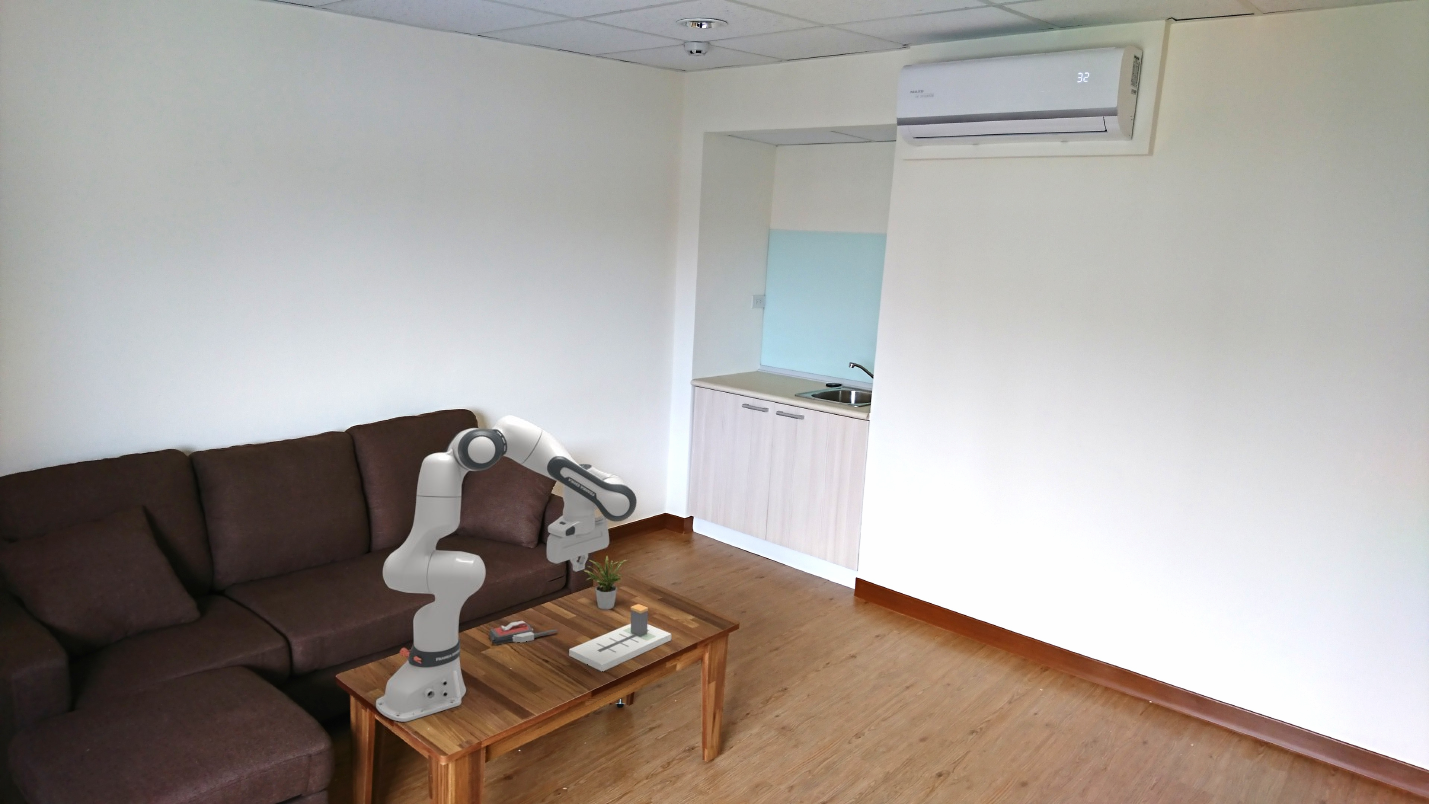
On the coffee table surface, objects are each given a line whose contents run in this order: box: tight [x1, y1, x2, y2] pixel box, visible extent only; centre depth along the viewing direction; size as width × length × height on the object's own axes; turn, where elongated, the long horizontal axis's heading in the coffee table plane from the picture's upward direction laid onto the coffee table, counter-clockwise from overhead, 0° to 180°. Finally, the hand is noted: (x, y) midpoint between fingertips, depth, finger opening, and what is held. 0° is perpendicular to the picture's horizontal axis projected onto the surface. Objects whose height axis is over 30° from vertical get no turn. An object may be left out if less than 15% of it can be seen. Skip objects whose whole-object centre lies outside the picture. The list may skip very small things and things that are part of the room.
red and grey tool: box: [489, 620, 559, 646], centre depth 273 cm, size 9×4×20 cm
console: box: [568, 623, 672, 672], centre depth 267 cm, size 28×14×2 cm, turn 140°
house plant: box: [583, 555, 629, 610], centre depth 297 cm, size 14×14×16 cm
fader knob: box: [630, 603, 649, 636], centre depth 272 cm, size 3×4×8 cm
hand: (578, 569), depth 254 cm, fingers closed
